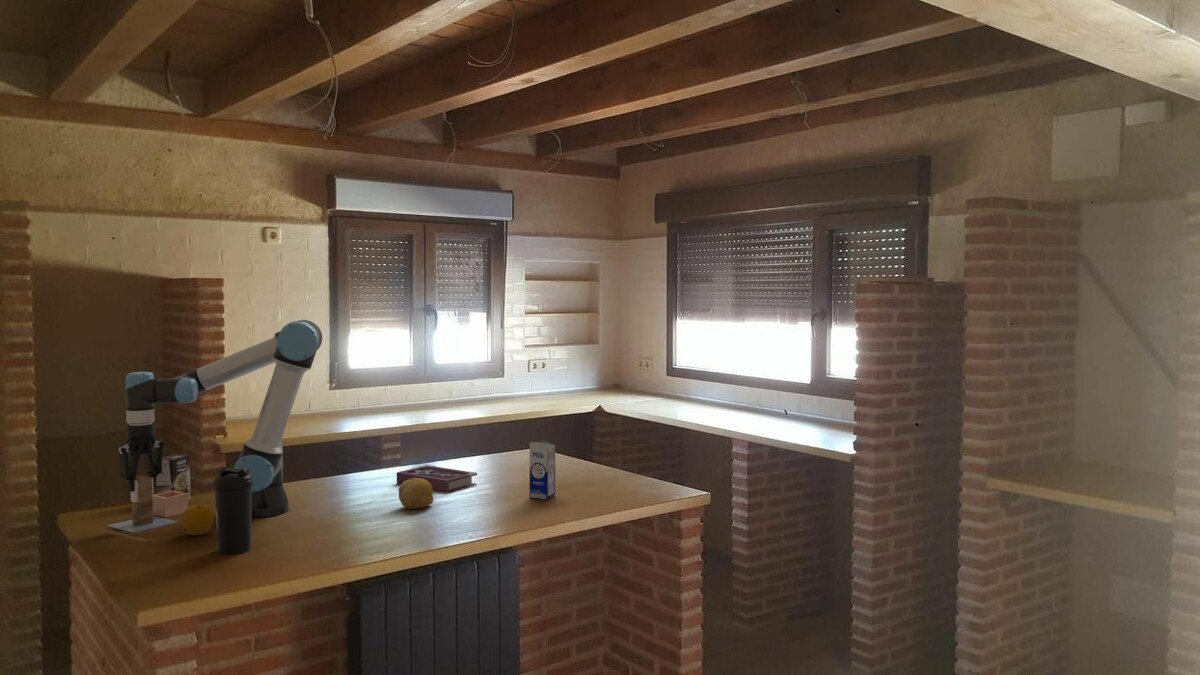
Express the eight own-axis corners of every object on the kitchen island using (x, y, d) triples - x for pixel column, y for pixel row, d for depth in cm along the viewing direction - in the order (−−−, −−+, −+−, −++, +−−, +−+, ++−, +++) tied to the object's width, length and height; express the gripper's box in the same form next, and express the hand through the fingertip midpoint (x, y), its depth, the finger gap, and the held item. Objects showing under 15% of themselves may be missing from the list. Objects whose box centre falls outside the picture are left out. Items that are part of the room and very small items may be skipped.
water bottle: (221, 545, 248) (220, 464, 247) (258, 544, 249) (257, 464, 248) (208, 556, 238) (207, 472, 237) (247, 555, 239) (246, 472, 238)
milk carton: (529, 498, 306) (529, 441, 305) (537, 493, 313) (537, 438, 311) (547, 500, 304) (547, 442, 303) (555, 495, 310) (555, 439, 309)
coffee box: (173, 508, 289) (172, 459, 288) (156, 507, 290) (155, 458, 289) (191, 501, 298) (190, 454, 297) (174, 500, 299) (173, 453, 298)
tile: (178, 525, 268) (178, 521, 268) (134, 536, 256) (134, 532, 256) (151, 518, 275) (151, 515, 275) (106, 529, 263) (106, 525, 263)
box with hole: (188, 515, 280) (187, 493, 280) (165, 520, 273) (165, 498, 273) (173, 512, 284) (173, 490, 283) (151, 517, 277) (150, 495, 277)
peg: (153, 522, 266) (152, 477, 266) (140, 525, 263) (139, 479, 262) (145, 520, 268) (144, 475, 268) (132, 523, 265) (131, 478, 264)
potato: (440, 506, 294) (440, 477, 293) (410, 514, 284) (410, 483, 283) (420, 501, 300) (420, 472, 299) (390, 508, 290) (390, 479, 290)
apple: (193, 540, 253) (192, 510, 252) (176, 535, 257) (175, 506, 257) (220, 533, 260) (219, 504, 259) (202, 529, 264) (202, 500, 264)
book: (477, 485, 326) (477, 472, 326) (447, 494, 313) (447, 480, 312) (426, 477, 340) (426, 464, 340) (396, 485, 326) (396, 472, 326)
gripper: (159, 418, 273) (161, 492, 275) (105, 426, 258) (107, 504, 260) (174, 420, 269) (176, 495, 271) (119, 428, 255) (121, 507, 256)
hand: (142, 499), depth 265 cm, fingers open, 4 cm apart
